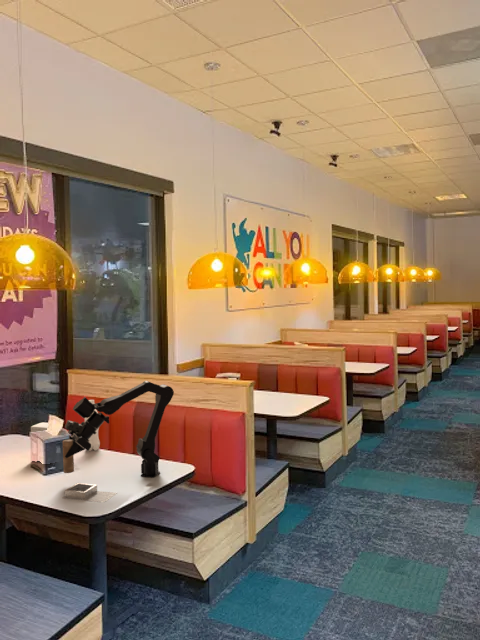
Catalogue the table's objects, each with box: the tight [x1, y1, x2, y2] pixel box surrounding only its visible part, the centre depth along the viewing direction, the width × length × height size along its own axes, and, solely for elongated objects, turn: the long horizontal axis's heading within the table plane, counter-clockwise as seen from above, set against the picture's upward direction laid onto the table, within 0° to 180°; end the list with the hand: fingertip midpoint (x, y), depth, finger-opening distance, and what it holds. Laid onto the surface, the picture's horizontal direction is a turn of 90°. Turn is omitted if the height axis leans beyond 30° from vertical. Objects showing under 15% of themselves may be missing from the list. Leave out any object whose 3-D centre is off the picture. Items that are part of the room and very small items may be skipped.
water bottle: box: [83, 399, 101, 452], centre depth 282 cm, size 7×7×25 cm
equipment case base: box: [61, 490, 118, 503], centre depth 215 cm, size 18×10×2 cm, turn 74°
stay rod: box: [62, 439, 75, 474], centre depth 227 cm, size 4×4×12 cm
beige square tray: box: [64, 482, 98, 499], centre depth 216 cm, size 9×9×2 cm
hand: (64, 455), depth 226 cm, fingers closed on stay rod, 4 cm apart
